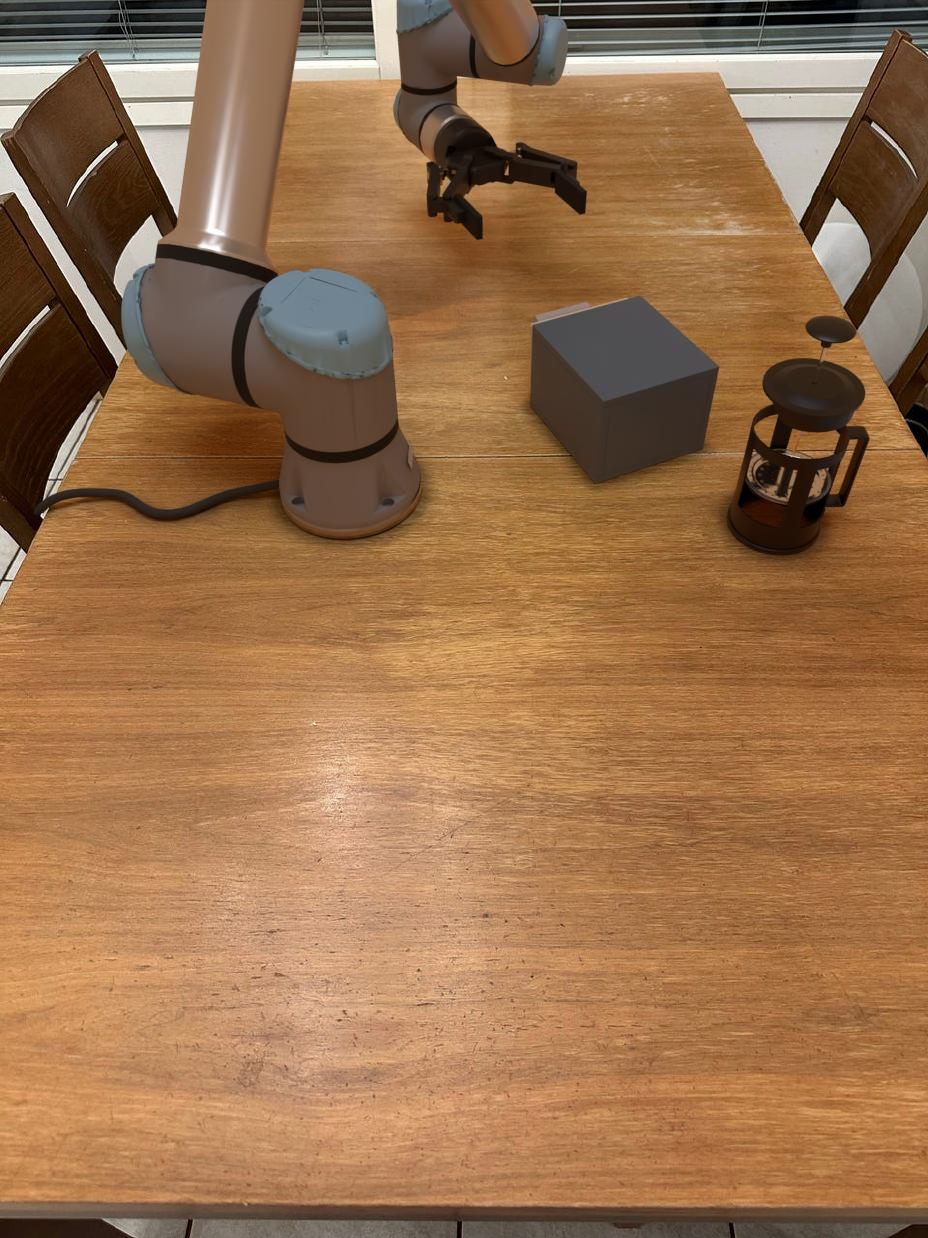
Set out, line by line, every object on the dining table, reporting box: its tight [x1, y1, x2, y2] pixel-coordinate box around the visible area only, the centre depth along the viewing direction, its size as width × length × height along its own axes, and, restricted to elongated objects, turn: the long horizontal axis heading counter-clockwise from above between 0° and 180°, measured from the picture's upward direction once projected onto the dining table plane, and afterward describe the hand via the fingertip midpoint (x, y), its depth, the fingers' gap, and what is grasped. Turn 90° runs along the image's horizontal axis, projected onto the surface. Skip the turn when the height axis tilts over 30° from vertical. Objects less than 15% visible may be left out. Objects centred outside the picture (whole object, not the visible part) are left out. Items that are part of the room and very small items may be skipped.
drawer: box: [527, 297, 629, 392], centre depth 108 cm, size 19×13×9 cm, turn 25°
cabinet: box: [529, 295, 720, 485], centre depth 105 cm, size 16×14×11 cm
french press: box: [726, 315, 870, 556], centre depth 89 cm, size 12×9×23 cm
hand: (532, 215), depth 111 cm, fingers open, 13 cm apart
